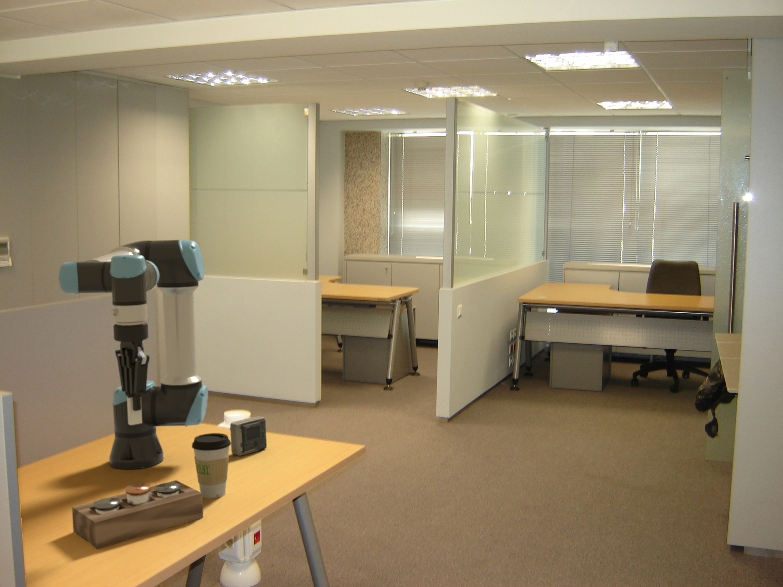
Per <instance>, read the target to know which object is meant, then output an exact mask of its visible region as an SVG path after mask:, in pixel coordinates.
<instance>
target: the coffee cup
mask: <svg viewBox="0 0 783 587" xmlns="http://www.w3.org/2000/svg"><path fill="white" fill-rule="evenodd" d="M193 439H194V440H193V442H192V444H191V448H192V449H193V452H194V462H195V469H196V475H197V482H198V485H199V492H201V493H202V499H219V498H221V497H223V496H224V495H226V488H227V481H228V471H229V459H230V454H229V451H230V447H231V439H230V438H229V436H228V434H225V433H220V432H219V433H218V432H213V433H212V432H211V433H203V434H199V435H196V436H195V437H194V438H193Z"/></svg>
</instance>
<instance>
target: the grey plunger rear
mask: <svg viewBox="0 0 783 587" xmlns="http://www.w3.org/2000/svg"><path fill="white" fill-rule="evenodd" d="M156 485H157V486H156V492H157V496H159V497H161V498H165V497H169V496H173V495H177V494H179V490H180V484H178V483H174V482H171V481H168V483H167V482H163V483H160V484H156Z"/></svg>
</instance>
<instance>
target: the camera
mask: <svg viewBox="0 0 783 587" xmlns="http://www.w3.org/2000/svg"><path fill="white" fill-rule="evenodd" d="M229 425H230V426H229V431H230V442H231V445H230V447H231V449H230V450H231V454H232V455H235V456H238V457H240V456H241V457H242V456H243V455H248V454H250V453H254V452H255V453H256V452H258V451H261V450H265V449H267V447H268V445H267V428H266V419H265V417H264V416H259V415H258V416H253V417H248V418H244V419H240V420H235V421H232V422H231V423H230V424H229Z"/></svg>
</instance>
